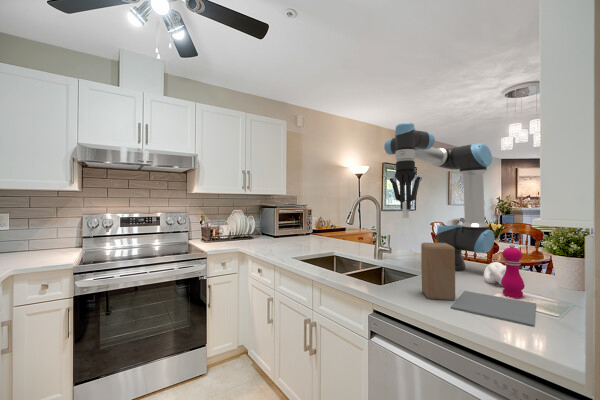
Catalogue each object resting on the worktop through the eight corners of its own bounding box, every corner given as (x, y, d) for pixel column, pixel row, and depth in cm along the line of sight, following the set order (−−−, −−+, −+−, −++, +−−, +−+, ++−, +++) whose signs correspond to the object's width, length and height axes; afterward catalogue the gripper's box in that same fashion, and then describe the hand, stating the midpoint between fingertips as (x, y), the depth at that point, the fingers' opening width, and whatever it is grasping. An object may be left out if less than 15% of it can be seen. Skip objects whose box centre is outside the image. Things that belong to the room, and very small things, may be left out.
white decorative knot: (508, 281, 128) (508, 261, 128) (524, 289, 116) (523, 267, 116) (480, 280, 130) (480, 260, 130) (493, 288, 118) (493, 266, 118)
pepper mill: (499, 291, 113) (499, 241, 113) (522, 294, 110) (521, 242, 110) (502, 297, 107) (502, 244, 107) (526, 300, 103) (526, 245, 103)
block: (456, 301, 103) (455, 246, 103) (427, 299, 105) (426, 246, 105) (447, 292, 113) (447, 242, 113) (421, 291, 115) (420, 242, 115)
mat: (464, 292, 113) (464, 290, 113) (536, 305, 98) (536, 303, 98) (450, 308, 96) (450, 306, 96) (534, 326, 82) (534, 324, 82)
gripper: (386, 161, 119) (386, 217, 118) (418, 158, 110) (418, 218, 110) (393, 163, 124) (394, 216, 124) (424, 160, 116) (425, 217, 116)
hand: (405, 217), depth 117 cm, fingers closed
